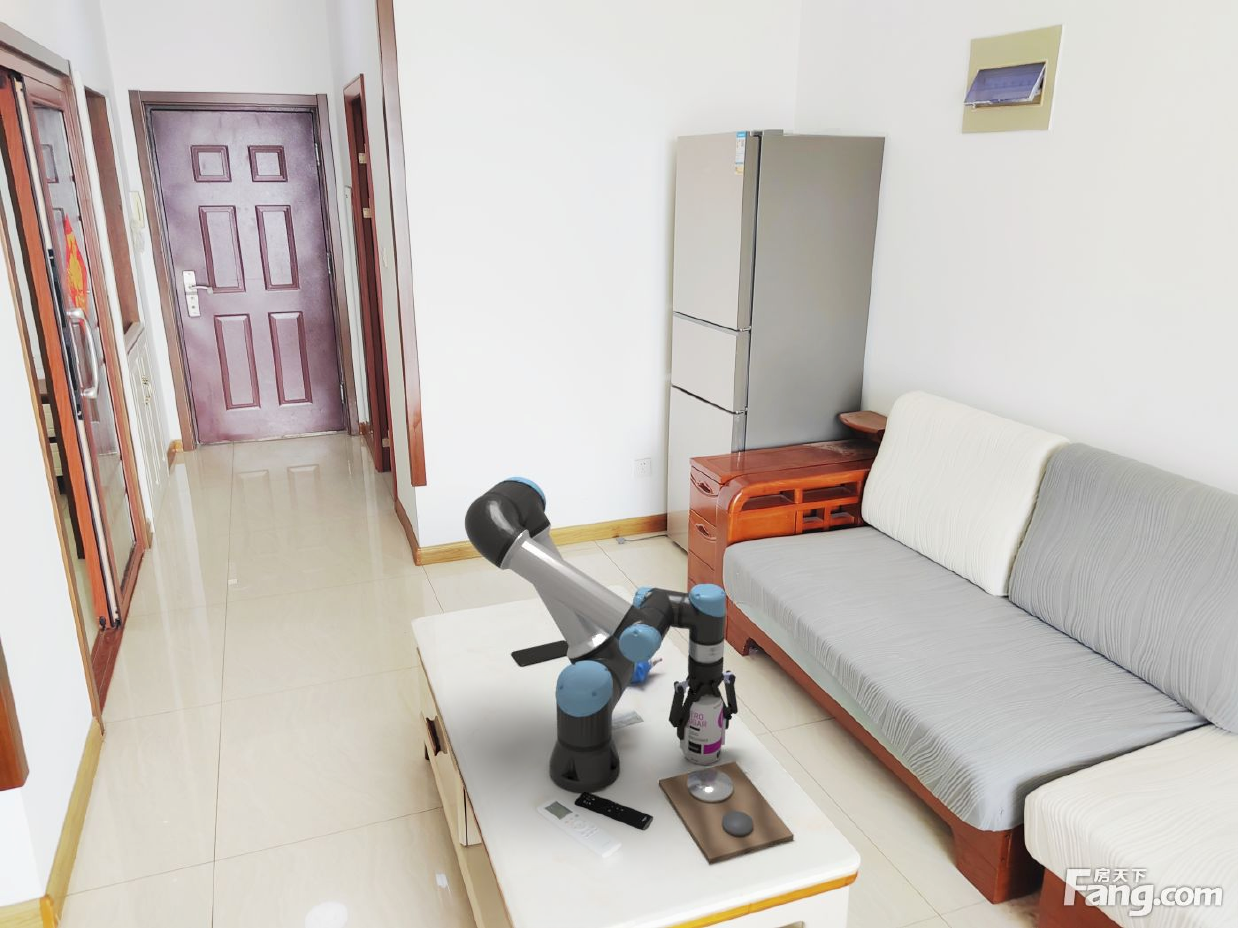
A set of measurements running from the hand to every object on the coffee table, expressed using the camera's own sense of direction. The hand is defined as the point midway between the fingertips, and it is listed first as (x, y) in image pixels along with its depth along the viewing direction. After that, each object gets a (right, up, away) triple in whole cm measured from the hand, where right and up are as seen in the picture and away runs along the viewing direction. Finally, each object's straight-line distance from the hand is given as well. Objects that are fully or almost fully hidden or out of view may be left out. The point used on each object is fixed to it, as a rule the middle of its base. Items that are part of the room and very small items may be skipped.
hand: (702, 745), depth 195 cm
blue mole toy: (-13, +7, +31) cm, 34 cm away
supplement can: (0, -2, +1) cm, 2 cm away
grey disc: (+5, -8, -22) cm, 24 cm away
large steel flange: (+1, -5, -12) cm, 13 cm away
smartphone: (-39, +11, +42) cm, 58 cm away
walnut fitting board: (+3, -8, -17) cm, 19 cm away
